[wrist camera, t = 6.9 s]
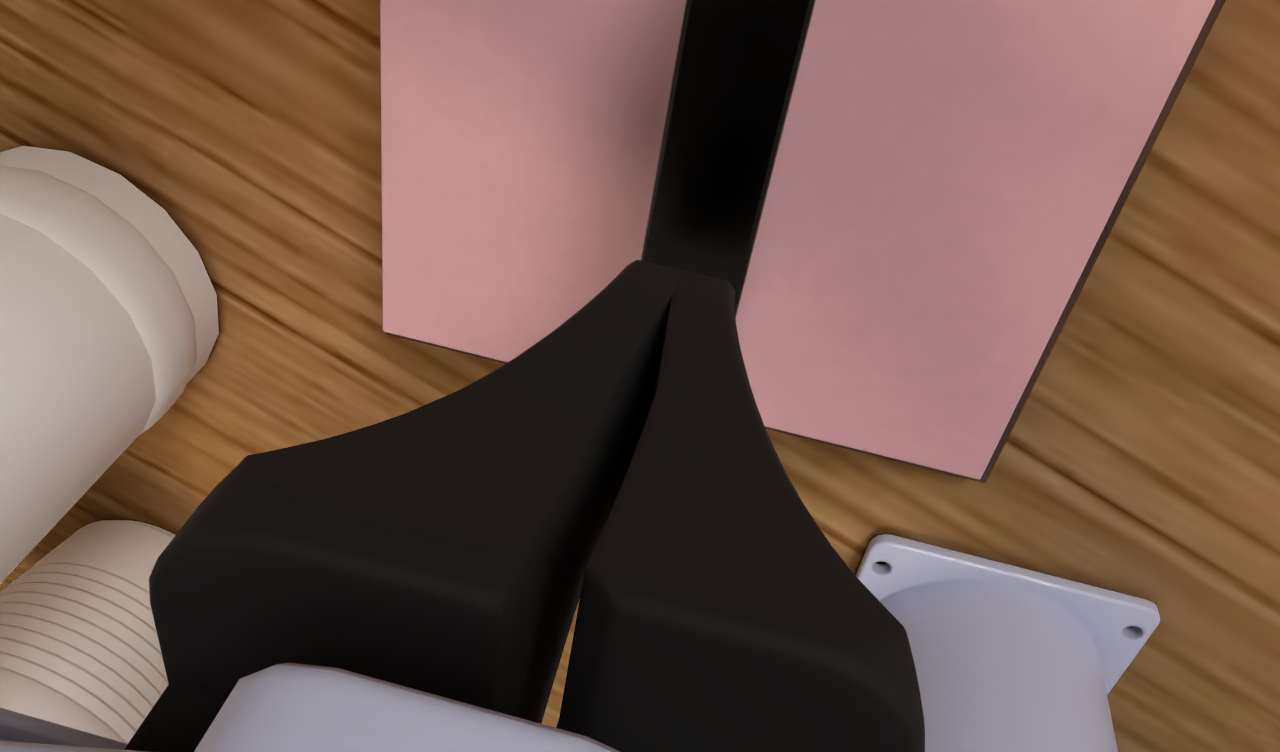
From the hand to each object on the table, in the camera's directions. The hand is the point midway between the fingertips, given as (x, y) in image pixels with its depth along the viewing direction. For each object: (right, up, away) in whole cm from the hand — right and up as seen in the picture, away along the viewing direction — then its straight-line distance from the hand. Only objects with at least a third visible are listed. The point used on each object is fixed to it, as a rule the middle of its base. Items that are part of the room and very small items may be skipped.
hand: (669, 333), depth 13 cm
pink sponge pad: (+2, +6, +8) cm, 10 cm away
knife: (+1, +4, +5) cm, 6 cm away
